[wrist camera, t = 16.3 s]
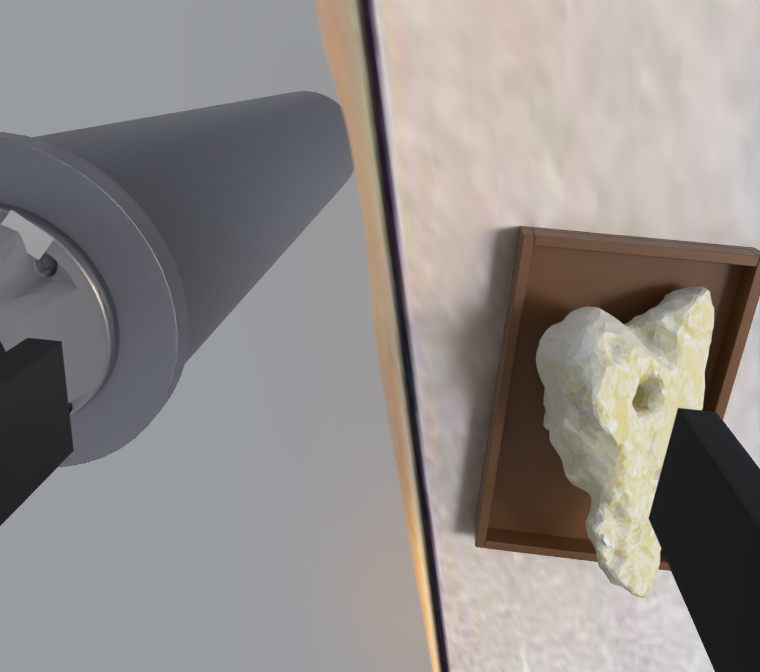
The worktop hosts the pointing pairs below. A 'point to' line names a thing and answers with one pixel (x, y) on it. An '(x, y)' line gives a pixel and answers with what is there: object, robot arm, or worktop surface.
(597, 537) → the cheese
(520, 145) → the worktop surface
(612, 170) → the worktop surface
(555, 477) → the holder
